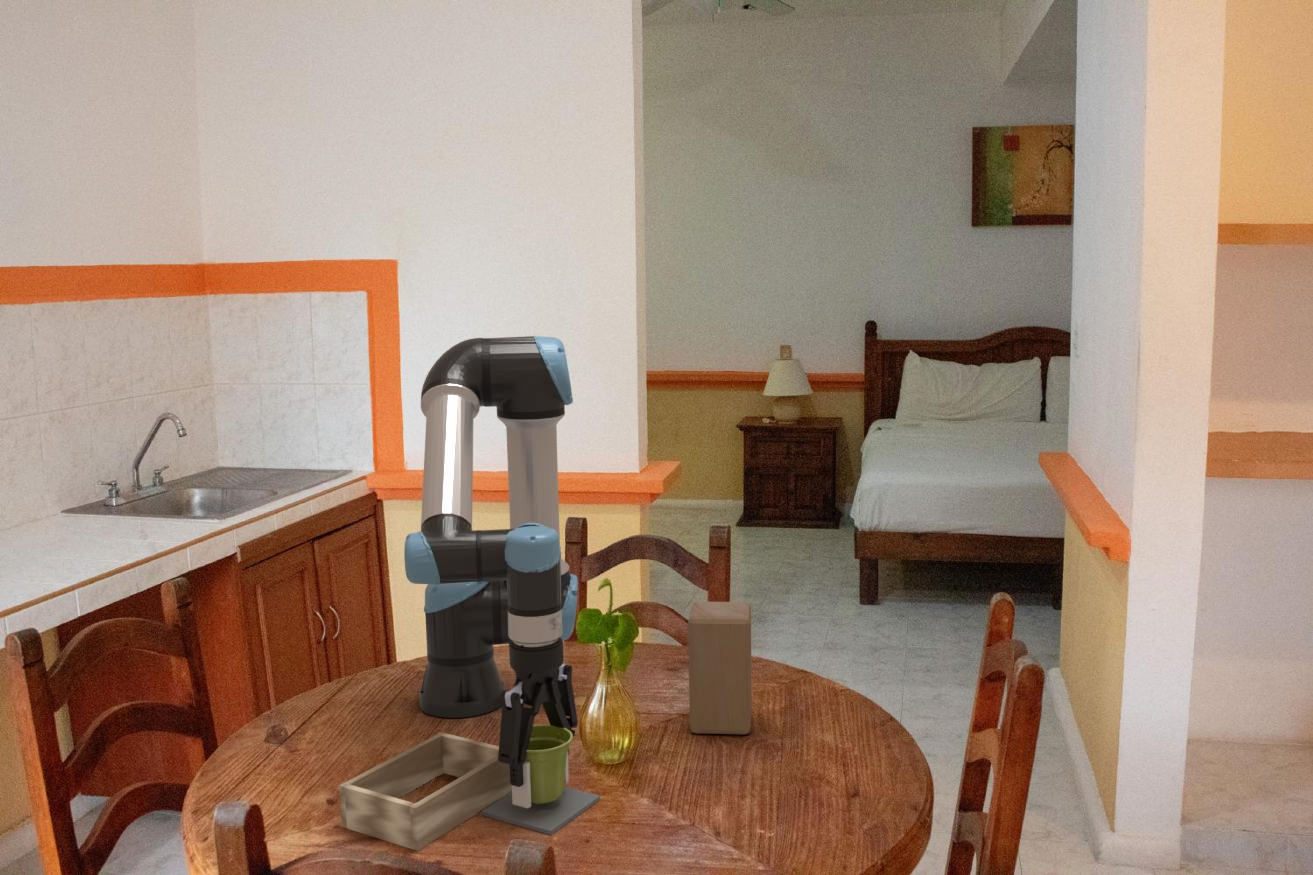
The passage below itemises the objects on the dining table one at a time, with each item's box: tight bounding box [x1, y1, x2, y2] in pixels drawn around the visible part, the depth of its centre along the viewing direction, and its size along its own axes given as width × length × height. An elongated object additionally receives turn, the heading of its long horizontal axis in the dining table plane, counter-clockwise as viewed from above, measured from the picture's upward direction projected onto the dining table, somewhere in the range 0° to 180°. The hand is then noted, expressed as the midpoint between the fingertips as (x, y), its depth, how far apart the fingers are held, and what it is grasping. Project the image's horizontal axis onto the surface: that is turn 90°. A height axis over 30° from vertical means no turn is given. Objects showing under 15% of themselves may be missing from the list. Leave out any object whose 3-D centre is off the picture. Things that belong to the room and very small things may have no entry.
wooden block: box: [687, 601, 753, 735], centre depth 191 cm, size 10×10×20 cm
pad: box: [481, 786, 601, 836], centre depth 163 cm, size 12×12×1 cm
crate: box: [338, 731, 512, 852], centre depth 164 cm, size 14×21×6 cm, turn 149°
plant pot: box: [518, 724, 574, 804], centre depth 162 cm, size 9×9×9 cm
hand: (541, 792), depth 163 cm, fingers closed on plant pot, 8 cm apart
